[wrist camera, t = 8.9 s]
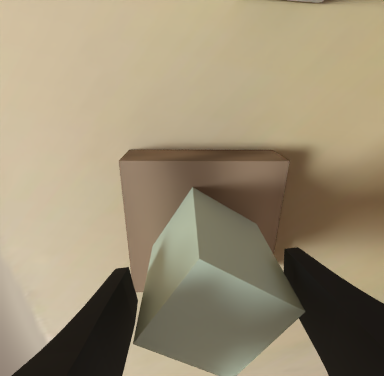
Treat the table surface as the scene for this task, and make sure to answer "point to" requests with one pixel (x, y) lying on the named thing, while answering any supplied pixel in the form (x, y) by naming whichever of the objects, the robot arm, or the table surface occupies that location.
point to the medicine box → (309, 0)
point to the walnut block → (202, 181)
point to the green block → (213, 290)
